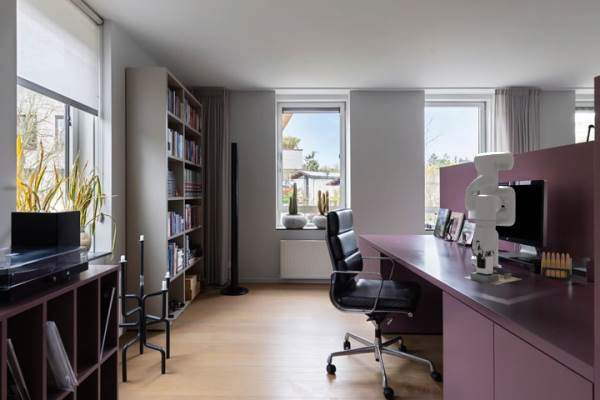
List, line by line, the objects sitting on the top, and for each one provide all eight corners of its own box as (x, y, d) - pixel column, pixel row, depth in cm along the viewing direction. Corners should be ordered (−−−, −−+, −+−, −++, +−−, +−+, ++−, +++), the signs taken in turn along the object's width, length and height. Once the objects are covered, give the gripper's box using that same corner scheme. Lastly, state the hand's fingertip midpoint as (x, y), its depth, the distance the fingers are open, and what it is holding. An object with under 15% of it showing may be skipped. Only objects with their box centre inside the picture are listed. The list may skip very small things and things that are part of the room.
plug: (476, 272, 141) (476, 253, 141) (482, 271, 143) (482, 252, 143) (486, 274, 137) (487, 254, 137) (492, 273, 139) (493, 254, 139)
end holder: (470, 278, 142) (470, 272, 142) (481, 276, 145) (481, 271, 145) (488, 282, 135) (488, 276, 135) (498, 280, 139) (498, 274, 139)
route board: (463, 280, 144) (463, 270, 144) (489, 275, 154) (490, 266, 154) (495, 288, 132) (495, 277, 132) (522, 282, 142) (522, 272, 142)
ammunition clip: (541, 277, 152) (541, 251, 152) (540, 277, 154) (541, 251, 154) (570, 280, 147) (571, 253, 147) (569, 279, 149) (570, 253, 149)
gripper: (488, 223, 148) (487, 264, 147) (464, 224, 139) (464, 267, 139) (505, 224, 141) (504, 267, 141) (482, 225, 133) (481, 271, 133)
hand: (484, 267), depth 140 cm, fingers closed on plug, 4 cm apart
